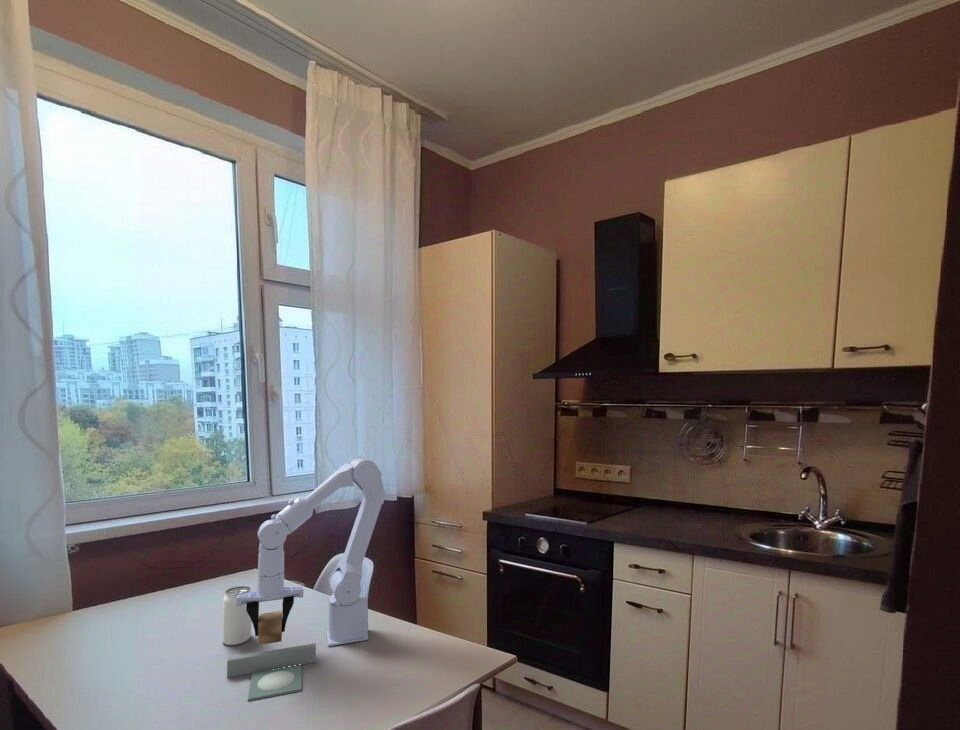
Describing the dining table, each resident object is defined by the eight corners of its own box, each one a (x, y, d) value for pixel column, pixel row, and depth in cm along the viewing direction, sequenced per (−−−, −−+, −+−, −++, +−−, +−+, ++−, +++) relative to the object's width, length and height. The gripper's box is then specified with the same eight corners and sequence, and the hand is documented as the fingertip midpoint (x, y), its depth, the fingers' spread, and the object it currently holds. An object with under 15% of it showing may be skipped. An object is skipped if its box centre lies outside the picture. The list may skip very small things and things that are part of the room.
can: (239, 647, 121) (240, 595, 122) (216, 644, 122) (217, 594, 123) (256, 634, 127) (257, 586, 128) (234, 632, 129) (235, 584, 129)
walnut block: (282, 632, 122) (282, 610, 122) (281, 641, 117) (281, 619, 117) (259, 635, 120) (259, 614, 120) (257, 645, 115) (258, 622, 116)
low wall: (315, 659, 115) (315, 643, 115) (315, 662, 114) (315, 646, 114) (227, 674, 109) (228, 657, 109) (227, 677, 108) (227, 660, 108)
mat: (301, 666, 112) (301, 664, 112) (301, 690, 103) (301, 688, 103) (252, 675, 109) (252, 672, 109) (247, 701, 99) (247, 698, 99)
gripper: (303, 563, 126) (302, 620, 125) (239, 571, 121) (238, 629, 120) (303, 573, 119) (303, 632, 118) (235, 581, 114) (234, 643, 113)
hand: (270, 632), depth 118 cm, fingers closed on walnut block, 5 cm apart
